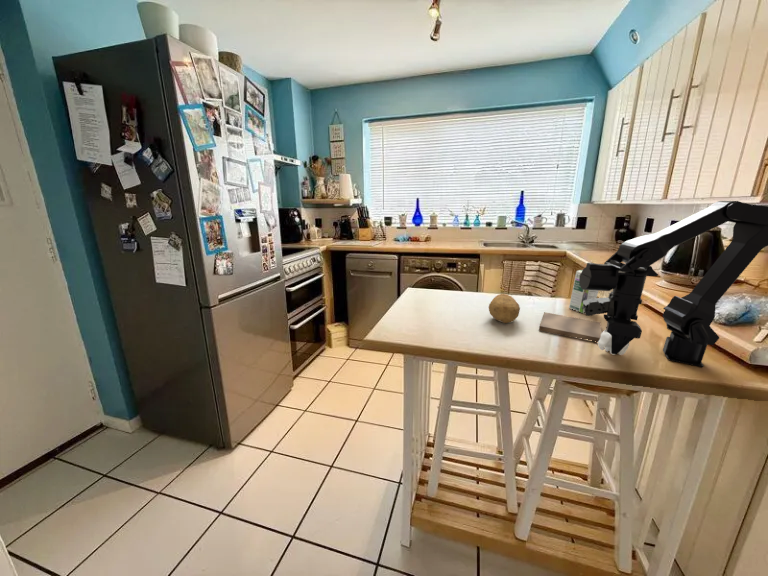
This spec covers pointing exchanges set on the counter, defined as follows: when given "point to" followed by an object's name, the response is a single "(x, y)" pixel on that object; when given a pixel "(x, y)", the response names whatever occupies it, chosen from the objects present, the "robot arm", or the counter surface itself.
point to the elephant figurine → (609, 343)
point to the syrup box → (580, 295)
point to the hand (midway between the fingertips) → (612, 348)
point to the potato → (504, 308)
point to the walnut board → (571, 326)
